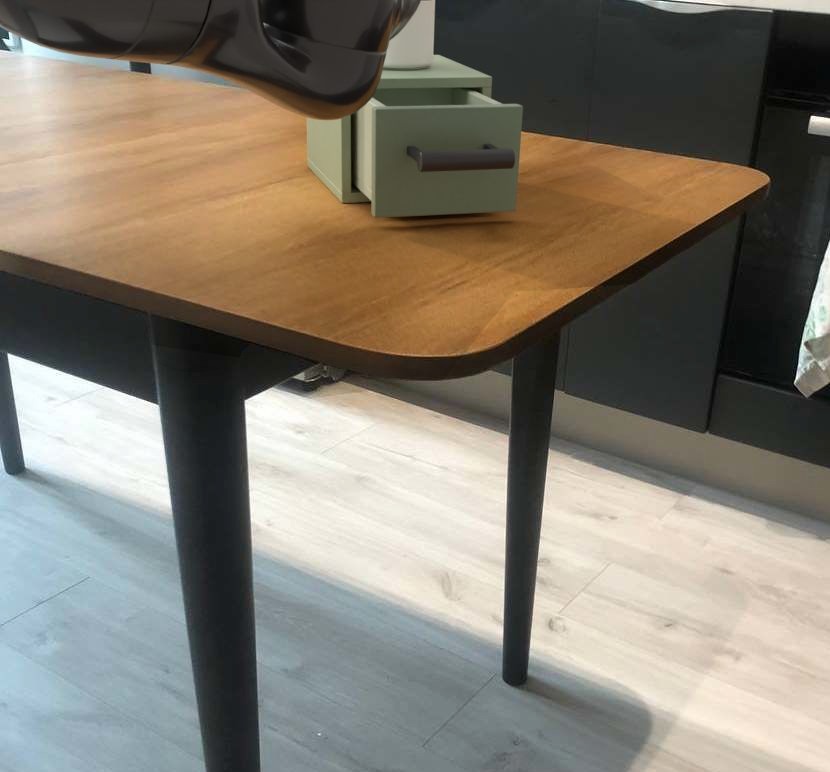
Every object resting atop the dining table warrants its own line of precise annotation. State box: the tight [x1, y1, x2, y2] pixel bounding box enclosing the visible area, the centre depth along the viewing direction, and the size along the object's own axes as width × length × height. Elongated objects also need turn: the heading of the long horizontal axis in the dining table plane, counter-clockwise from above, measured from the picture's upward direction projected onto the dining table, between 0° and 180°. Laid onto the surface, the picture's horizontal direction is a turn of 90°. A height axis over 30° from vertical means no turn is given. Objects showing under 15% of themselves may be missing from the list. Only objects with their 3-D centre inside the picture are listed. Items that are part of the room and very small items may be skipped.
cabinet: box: [305, 54, 493, 204], centre depth 95 cm, size 15×13×10 cm
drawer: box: [351, 88, 524, 219], centre depth 85 cm, size 18×11×8 cm, turn 16°
